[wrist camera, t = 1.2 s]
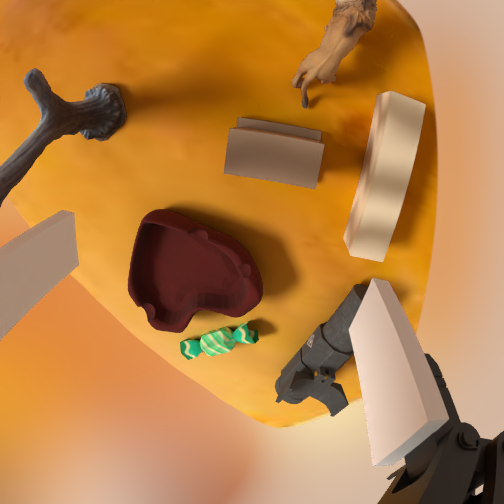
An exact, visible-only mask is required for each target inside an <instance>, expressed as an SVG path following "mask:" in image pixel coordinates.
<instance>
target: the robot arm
mask: <svg viewBox="0 0 504 504" xmlns="http://www.w3.org/2000/svg"><path fill="white" fill-rule="evenodd" d="M78 265H79V261H78V253H77V244H76V234H75V221H74V212H69V211H64V210H62V211H60V212H58V213H57V214H55V215H53V216H51V217H49V218H48V219H46V220H44V221H42V222H41V223H39V224H37V225H36V226H34V227H32V228H31V229H29V230H27V231H26V232H24V233H23V234H21V235H19V236H18V237H16V238H14V239H13V240H11V241H10V242H8V243H7V244H5V245H4V246H2V247H1V248H0V341H1V339H2V338H3V337H4V336H5V335H6V334H7V333H8V332H9V331H10V330H11V329H12V327H14V326H15V325H16V323H17V322H18V321H19V320H20V319H21V318H22V317H23V316H24V315H25V314H26V313H27V312H28V311H29V310H30V309H31V308H32V307H33V306H34V305H35V304H36V303H37V302H39V301H40V300H41V299H42V298H43V297H44V296H45V295H46V294H47V293H48V292H49V291H50V290H51V289H52V288H54V287H55V286H56V285H57V284H58V283H59V282H60V281H61V280H62V279H63V278H65V277H66V276H67V275H68V274H69V273H70V272H71V271H73V270H74V269H75V268H76V267H77V266H78ZM349 333H350V337H351V342H352V346H353V351H354V356H355V360H356V365H357V370H358V375H359V380H360V386H361V391H362V397H363V402H364V408H365V414H366V421H367V427H368V434H369V441H370V448H371V456H372V465H373V467H374V466H387V465H393V464H395V463H396V462H398V461H399V460H401V459H402V458H403V457H405V463H406V465H404V466H403V467H401V468H400V469H398V470H397V471H395V472H394V473H392V474H391V475H390V476H389V477H388V478H387V479H388V480H390V479H392V478H393V477H395V476H396V477H395V479H394V480H393V482H392V483H391V485H390V486H389V488H388V489H387V491H386V492H385V494H384V495H383V497H382V498H381V500H380V501H379V502H378V504H504V431H503V432H501V433H500V434H499V435H498V436H497V437H495V438H494V439H493V440H489V439H484V438H480V436H479V434H478V432H477V430H476V429H475V428H474V427H473V426H471V425H470V424H468V423H465V422H464V423H461V421H460V419H459V416H458V414H457V411H456V408H455V406H454V403H453V400H452V398H451V395H450V392H449V390H448V388H446V383H445V380H444V378H442V373H441V371H440V369H439V366H438V364H437V363H436V362H435V361H434V359H433V358H432V357H431V356H430V355H429V354H425V353H424V352H423V350H422V348H421V346H420V343H419V341H418V339H417V337H416V335H415V333H414V330H413V328H412V326H411V324H410V322H409V320H408V318H407V316H406V314H405V312H404V310H403V308H402V306H401V304H400V302H399V300H398V298H397V296H396V294H395V292H394V290H393V289H392V287H391V285H390V283H389V281H385V280H381V279H376V278H372V280H371V283H370V285H369V287H368V290H367V292H366V294H365V296H364V298H363V301H362V303H361V305H360V307H359V309H358V311H357V313H356V316H355V318H354V320H353V322H352V324H351V326H350V328H349ZM483 484H484V486H483V492H481V493H480V494H478V495H475V489H476V488H478V487H479V486H481V485H483Z"/></svg>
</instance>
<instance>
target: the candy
mask: <svg viewBox="0 0 504 504" xmlns="http://www.w3.org/2000/svg"><path fill="white" fill-rule="evenodd" d="M249 322H250V321H249ZM247 323H248V322H246V323H243V324H241V325H240V326H239V327H238V328H237V329H236V330H235V331H234V332H233V331H232V330H231V329H229V328H228V327H224V328H220V329H217V330H213V331H210V332H206V333H205V334H204V335H202V337H201V340H200V341H198V340H194V339H186V340H184V341H182V342H180V347H181V353H182V354H183V355H184V356H185V357H186V358H187V359H188V360H189V359H192V358H195V357H197V356H198V355H199V354H200V353H201V352H202V351H204V352H205V353H206V354H207V355H208V356H209V357H210V356H214V355H218V354H222V353H226V352H230V351H231V350H232V349H233V348H234V346H235V344H236V341H237V342H240V343H256V342H257V341H258V340H259V338H258V332H257V330H254V331H251V330H250V329H248V328H247Z"/></svg>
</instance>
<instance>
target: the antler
mask: <svg viewBox="0 0 504 504" xmlns="http://www.w3.org/2000/svg"><path fill="white" fill-rule="evenodd" d="M24 84H25V87H26V89H27V90H28V91H29V92H30V93H31V95H32V97H33V99H34V100H35V101H36V103H37V104H38V107H39V109H40V112H41V120H40V123H39V125H38V126H37V127H36V129H35V130H34V131H33V132H32V133H31V134H30V136H29V137H28V138H27V139H26V140H25V141H24V142H23V143H22V145H21V146H20V147H19V148H18V149H17V150H16V151H15V152H14V153H13V154H12V155H11V156H10V157H9V158H8V159H7V160H6V161H5V162H4V163H3V164H2V165H1V166H0V207H1V204H2V202H3V200H4V199H5V197H6V196H7V195H8V193H9V192H10V191H11V189H12V188H13V187H14V186H16V185H17V184H18V183H19V182H20V181H21V179H22V178H23V177H24V176H25V174H26V173H27V172H28V170H29V169H30V168H31V166H32V165H33V163H34V162H35V160H36V159H37V158H38V157H39V156H40V155H41V154H42V152H43V151H44V149H45V147H46V146H47V145H48V144H50V143H51V142H52V141H53V140H56V139H59V138H60V137H62V136H63V135H75V134H77V133H78V132H79V131H80V132H81V134H83V135H84V137H85V138H86V139H87V140H89V139H93V138H95V139H96V140H98V141H104V140H106V139H108V137H109V136H110V135H112V134H113V133H114V132H115V131H116V129H118V128H120V127H121V126H122V125H123V124H124V122H125V119H126V117H127V116H126V110H125V107H124V102H123V99H122V98H121V95H120V91H119V88H118V87H117V88H116V87H115V86H113V85H109V84H97V85H95V87H93V89H89V90H88V91H86V92H85V98H84V100H83V101H78V102H66V101H64V100H63V99H62V98H60V97H59V96H58V95H56V94H55V93H53V92H52V91H51V87H50V86H49V84H48V82H47V80H46V79H45V77H44V75H43V74H42V72H40V71H39V70H38V69H36V68H34V69H32V70H30V71H29V72H28V73H27V74H26V76H25V78H24Z"/></svg>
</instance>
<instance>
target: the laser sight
mask: <svg viewBox="0 0 504 504" xmlns="http://www.w3.org/2000/svg"><path fill="white" fill-rule="evenodd" d="M367 290H368V287H366V286H364V285H361V284H356V285H355V286H354V287H353V289H352V290H351V291H350V293H349V294H348V295H347V297H346V298H345V300H344V301H343V302H342V303H341V304H340V306H339V307H338V309H337V310H336V311H335V313H334V314H333V315H332V316H331V317H330V319H329V320H328V322H325V323H323V324H321V325H319V326H318V328H317V329H316V330H315V331H314V333H313V334H312V335H311V336H310V338H309V339H308V340H307V341H306V343H305V344H304V345H303V346H302V347H301V349H300V350H299V351H298V352H297V353H296V355H295V356H294V357H293V358H292V359H291V360H290V362H289V363H288V364H287V365H286V366H285V367H284V369H283V370H282V371H281V376H280V377H279V378H278V379H277V381H276V383H275V388H276V392H277V394H278V397H277V399H276V402H278V403H279V402H280V401H282V400H284V401H286V402H287V403H291V404H298V403H300V402H302V401H303V400H304V399H306V398H307V397H309V396H310V397H313V398H315V399H317V400H319V401H320V402H322V403H324V404H325V405H326V406H327V408H328V409H329V411H330V413H331V415H330V416H335V415H336V414H337V413H339V412H340V411H341V410H342V409H344V408H345V407H346V406H347V405H349V404H348V401H347V399H346V396H345V393H344V391H343V388H342V386H341V384H338V383H334V381H335V380H336V379H335V372H337V371H338V370H339V369H340V368H341V367H342V366H343V365H344V364H345V363H346V362H347V361H348V360H349V359H350V357H351V356H352V355H353V354H354V351H353V346H352V342H351V337H350V333H349V328H350V326H351V324H352V322H353V320H354V318H355V316H356V313H357V311H358V309H359V307H360V305H361V303H362V301H363V298H364V296H365V294H366V292H367Z"/></svg>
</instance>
